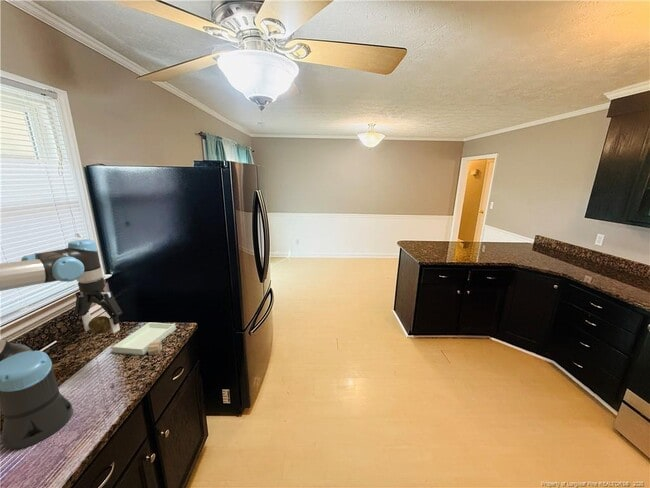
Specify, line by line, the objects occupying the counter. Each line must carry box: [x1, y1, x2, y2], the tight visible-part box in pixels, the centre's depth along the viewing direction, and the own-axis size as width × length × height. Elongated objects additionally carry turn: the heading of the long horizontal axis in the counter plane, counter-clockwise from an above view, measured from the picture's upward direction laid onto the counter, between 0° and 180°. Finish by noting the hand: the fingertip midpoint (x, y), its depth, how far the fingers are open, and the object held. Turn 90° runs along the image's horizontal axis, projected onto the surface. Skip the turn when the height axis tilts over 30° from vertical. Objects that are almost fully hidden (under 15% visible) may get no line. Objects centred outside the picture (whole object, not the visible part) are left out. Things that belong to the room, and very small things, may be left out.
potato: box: [88, 315, 112, 335], centre depth 105 cm, size 8×13×8 cm, turn 27°
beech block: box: [147, 341, 163, 356], centre depth 117 cm, size 4×4×4 cm
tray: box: [111, 322, 177, 356], centre depth 126 cm, size 21×15×3 cm
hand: (102, 330), depth 106 cm, fingers closed on potato, 12 cm apart
